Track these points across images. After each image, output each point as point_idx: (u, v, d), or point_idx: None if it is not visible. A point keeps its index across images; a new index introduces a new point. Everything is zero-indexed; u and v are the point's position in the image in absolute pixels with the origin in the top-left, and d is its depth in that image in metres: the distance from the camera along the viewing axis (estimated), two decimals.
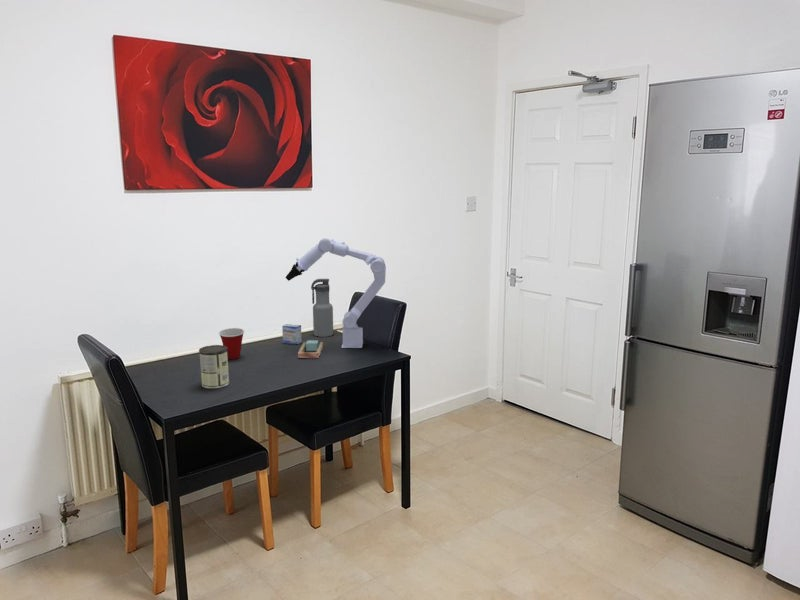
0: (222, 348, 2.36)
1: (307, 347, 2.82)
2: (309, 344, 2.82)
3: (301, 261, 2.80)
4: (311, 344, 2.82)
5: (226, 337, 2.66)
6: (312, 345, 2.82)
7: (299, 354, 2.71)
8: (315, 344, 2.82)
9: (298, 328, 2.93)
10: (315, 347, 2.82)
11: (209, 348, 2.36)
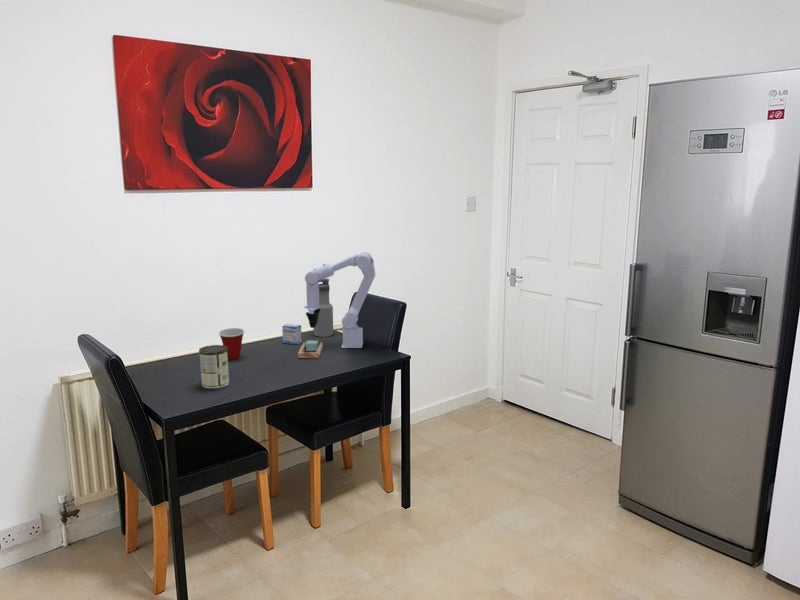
0: (222, 348, 2.36)
1: (307, 347, 2.82)
2: (309, 344, 2.82)
3: (309, 305, 2.86)
4: (311, 344, 2.82)
5: (226, 337, 2.66)
6: (312, 345, 2.82)
7: (299, 354, 2.71)
8: (315, 344, 2.82)
9: (298, 328, 2.93)
10: (315, 347, 2.82)
11: (209, 348, 2.36)
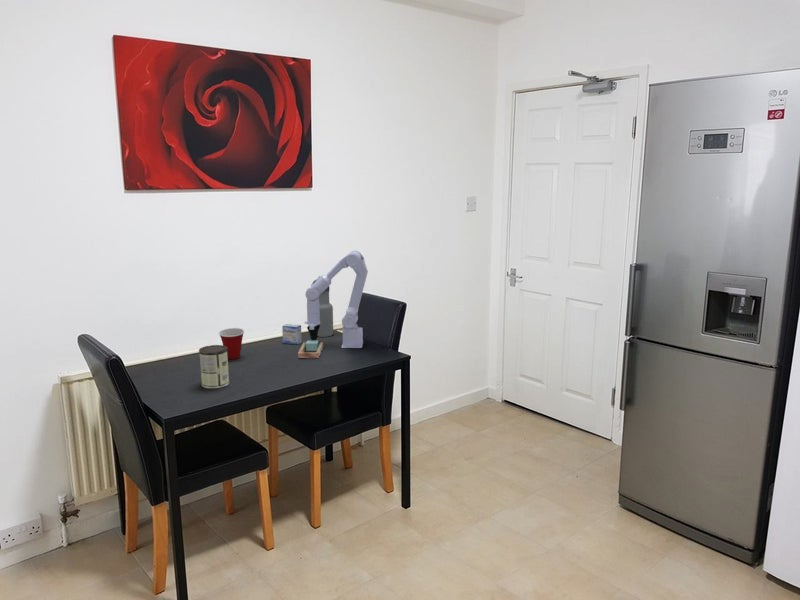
0: (222, 348, 2.36)
1: (307, 347, 2.82)
2: (309, 344, 2.82)
3: (309, 321, 2.87)
4: (311, 344, 2.82)
5: (226, 337, 2.66)
6: (312, 345, 2.82)
7: (299, 354, 2.71)
8: (315, 344, 2.82)
9: (298, 328, 2.93)
10: (315, 347, 2.82)
11: (209, 348, 2.36)
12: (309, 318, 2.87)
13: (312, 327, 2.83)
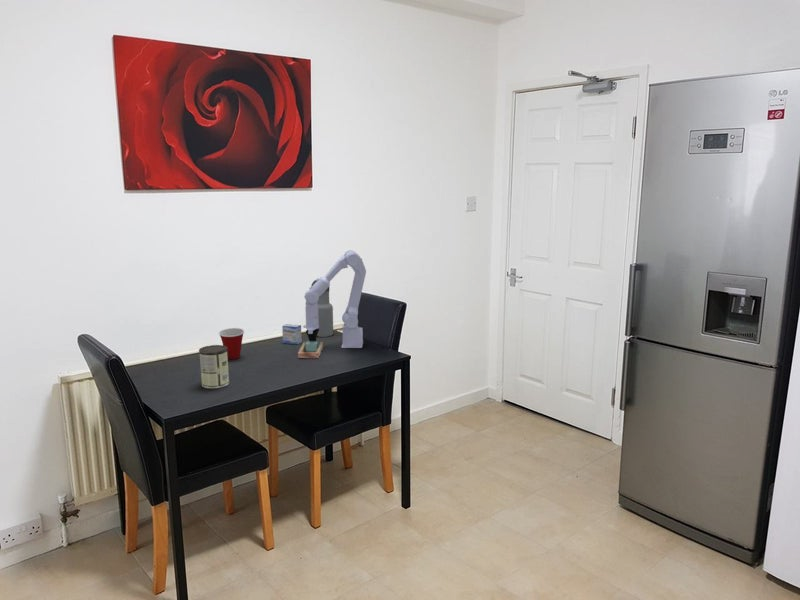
0: (222, 348, 2.36)
1: (307, 348, 2.81)
2: (309, 345, 2.80)
3: (308, 325, 2.83)
4: (311, 345, 2.80)
5: (226, 337, 2.66)
6: (312, 346, 2.81)
7: (299, 354, 2.71)
8: (315, 345, 2.81)
9: (298, 328, 2.93)
10: (315, 348, 2.81)
11: (209, 348, 2.36)
12: (308, 322, 2.82)
13: (311, 331, 2.78)
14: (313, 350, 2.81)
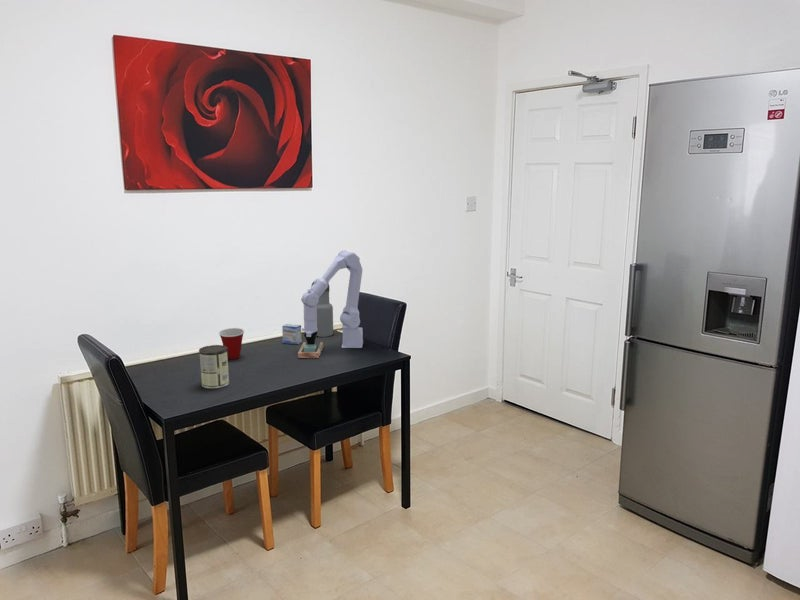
0: (222, 348, 2.36)
1: (305, 351, 2.75)
2: (307, 348, 2.75)
3: (306, 328, 2.77)
4: (309, 348, 2.75)
5: (226, 337, 2.66)
6: (310, 349, 2.75)
7: (299, 354, 2.71)
8: (313, 348, 2.75)
9: (298, 328, 2.93)
10: (313, 351, 2.75)
11: (209, 348, 2.36)
12: (306, 325, 2.77)
13: (309, 334, 2.73)
14: None
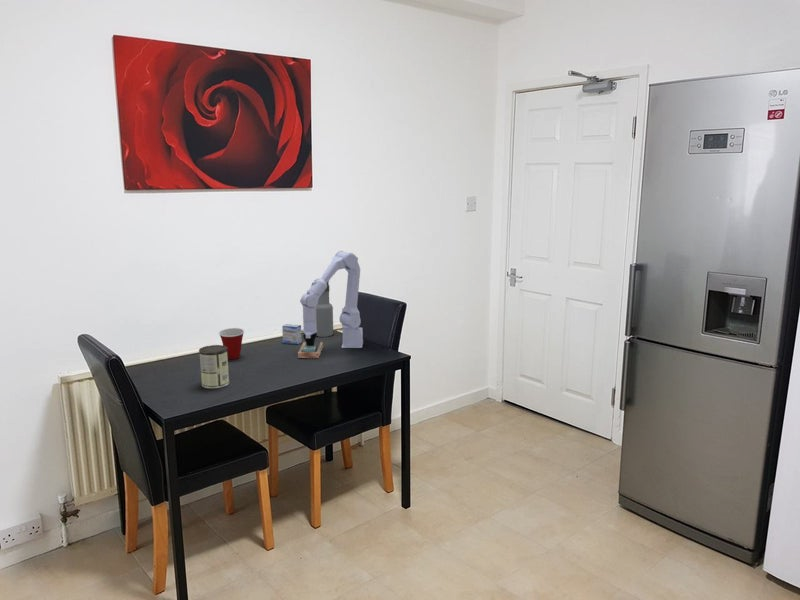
0: (222, 348, 2.36)
1: None
2: (306, 350, 2.73)
3: (305, 329, 2.75)
4: (308, 350, 2.73)
5: (226, 337, 2.66)
6: (309, 351, 2.73)
7: (299, 354, 2.71)
8: (312, 350, 2.73)
9: (298, 328, 2.93)
10: None
11: (209, 348, 2.36)
12: (305, 326, 2.75)
13: (308, 336, 2.70)
14: None
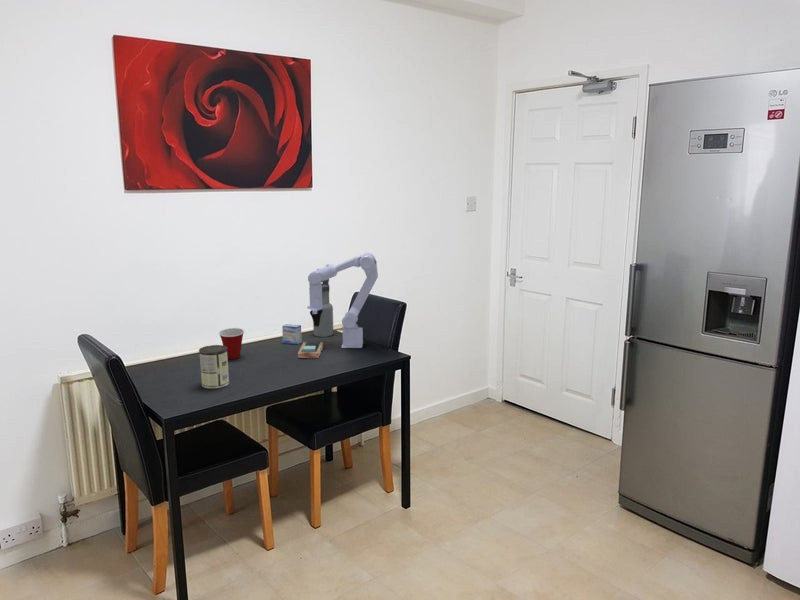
0: (222, 348, 2.36)
1: None
2: (306, 350, 2.73)
3: (312, 305, 2.85)
4: (308, 350, 2.73)
5: (226, 337, 2.66)
6: (309, 351, 2.73)
7: (299, 354, 2.71)
8: (312, 350, 2.73)
9: (298, 328, 2.93)
10: None
11: (209, 348, 2.36)
12: (312, 303, 2.85)
13: (315, 311, 2.81)
14: None
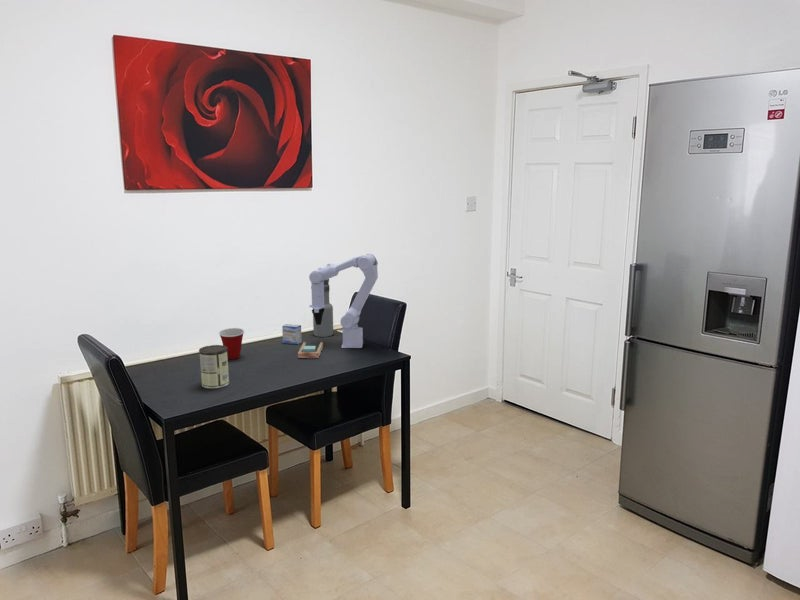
0: (222, 348, 2.36)
1: None
2: (306, 350, 2.73)
3: (314, 304, 2.88)
4: (308, 350, 2.73)
5: (226, 337, 2.66)
6: (309, 351, 2.73)
7: (299, 354, 2.71)
8: (312, 350, 2.73)
9: (298, 328, 2.93)
10: None
11: (209, 348, 2.36)
12: (314, 301, 2.88)
13: (317, 310, 2.84)
14: None
